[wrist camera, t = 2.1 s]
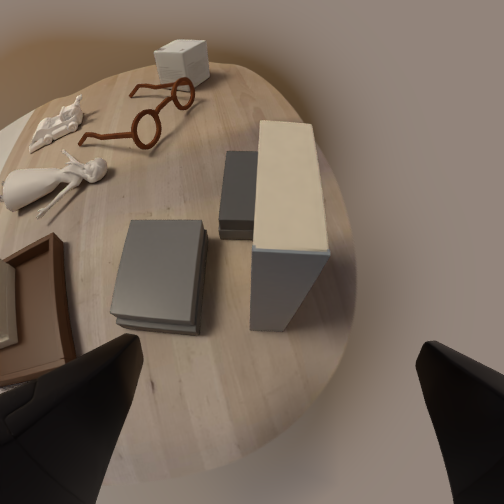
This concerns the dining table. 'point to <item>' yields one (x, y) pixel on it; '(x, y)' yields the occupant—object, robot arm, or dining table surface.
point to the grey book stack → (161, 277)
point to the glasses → (151, 112)
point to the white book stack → (7, 306)
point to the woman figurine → (48, 182)
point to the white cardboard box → (183, 62)
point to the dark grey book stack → (238, 195)
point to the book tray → (38, 313)
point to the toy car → (57, 125)
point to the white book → (286, 224)
